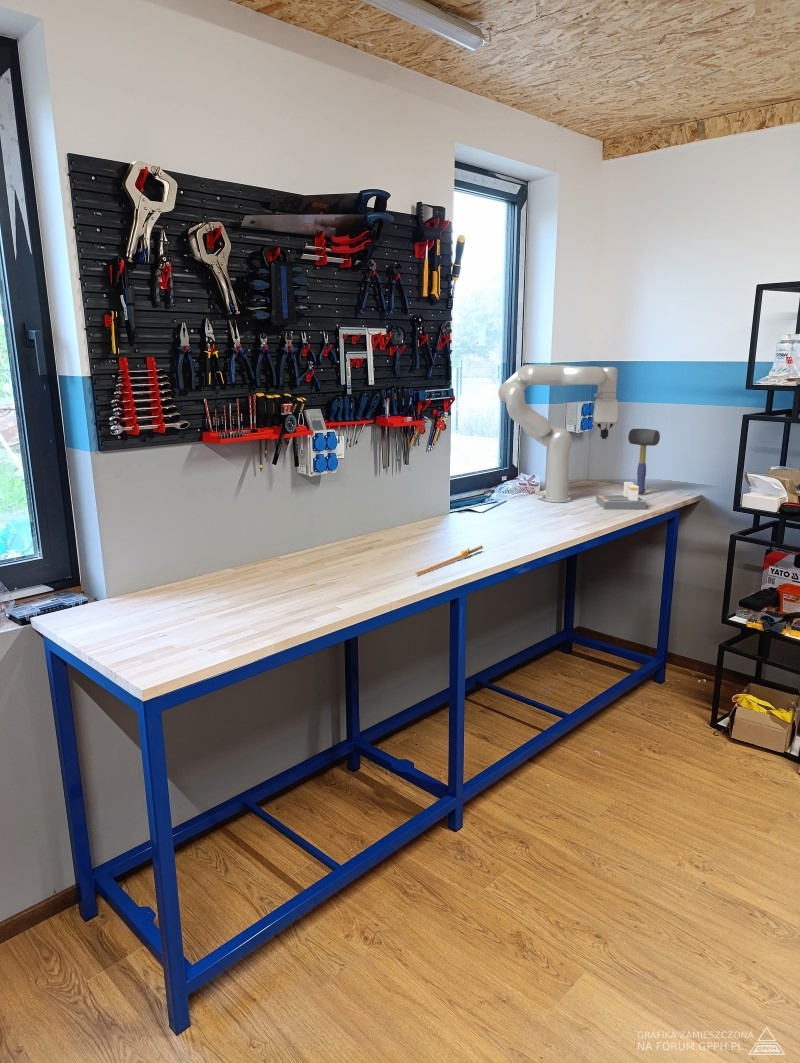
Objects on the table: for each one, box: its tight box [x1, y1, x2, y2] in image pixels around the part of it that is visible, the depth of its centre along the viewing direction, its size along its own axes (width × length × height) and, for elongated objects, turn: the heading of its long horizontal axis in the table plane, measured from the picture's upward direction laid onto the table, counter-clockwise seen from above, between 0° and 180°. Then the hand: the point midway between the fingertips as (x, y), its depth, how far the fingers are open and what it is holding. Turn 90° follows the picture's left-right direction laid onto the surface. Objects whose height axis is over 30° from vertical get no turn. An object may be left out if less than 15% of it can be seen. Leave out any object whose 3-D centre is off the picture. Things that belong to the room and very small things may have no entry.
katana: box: [415, 545, 484, 577], centre depth 221 cm, size 1×35×3 cm, turn 141°
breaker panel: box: [595, 481, 647, 510], centre depth 304 cm, size 17×16×9 cm
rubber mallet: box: [627, 428, 661, 496], centre depth 326 cm, size 12×8×30 cm, turn 46°
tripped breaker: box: [628, 484, 639, 501], centre depth 300 cm, size 3×4×6 cm
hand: (604, 438), depth 316 cm, fingers closed
